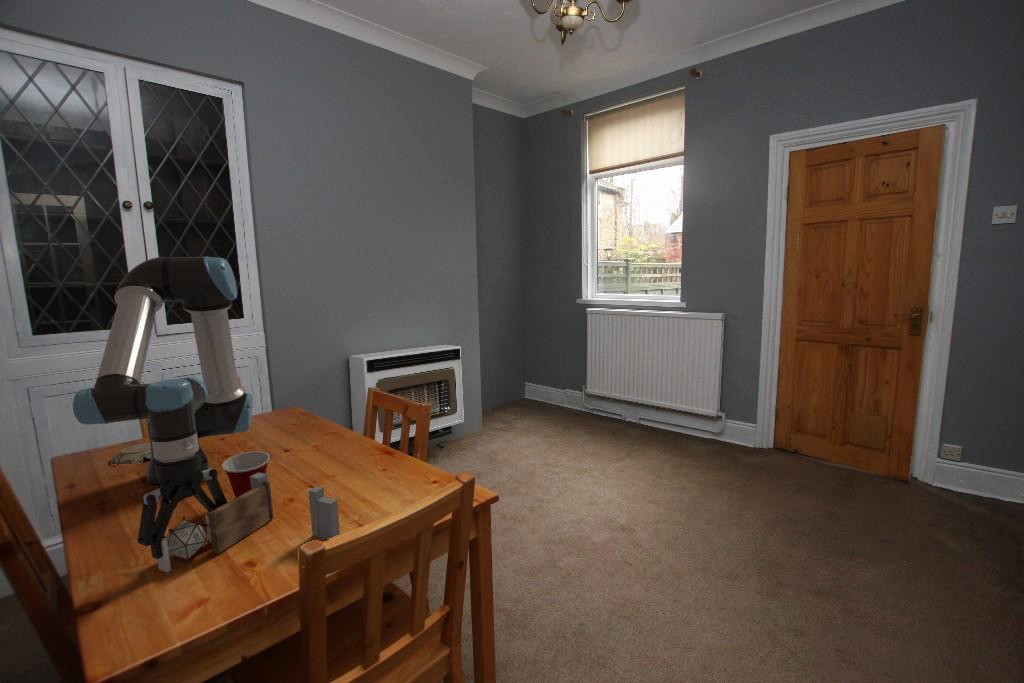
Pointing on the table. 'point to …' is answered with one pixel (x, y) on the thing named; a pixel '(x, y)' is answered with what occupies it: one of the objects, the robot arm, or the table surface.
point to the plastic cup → (244, 469)
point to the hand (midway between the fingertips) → (190, 555)
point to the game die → (186, 539)
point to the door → (240, 517)
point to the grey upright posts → (314, 509)
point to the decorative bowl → (133, 454)
